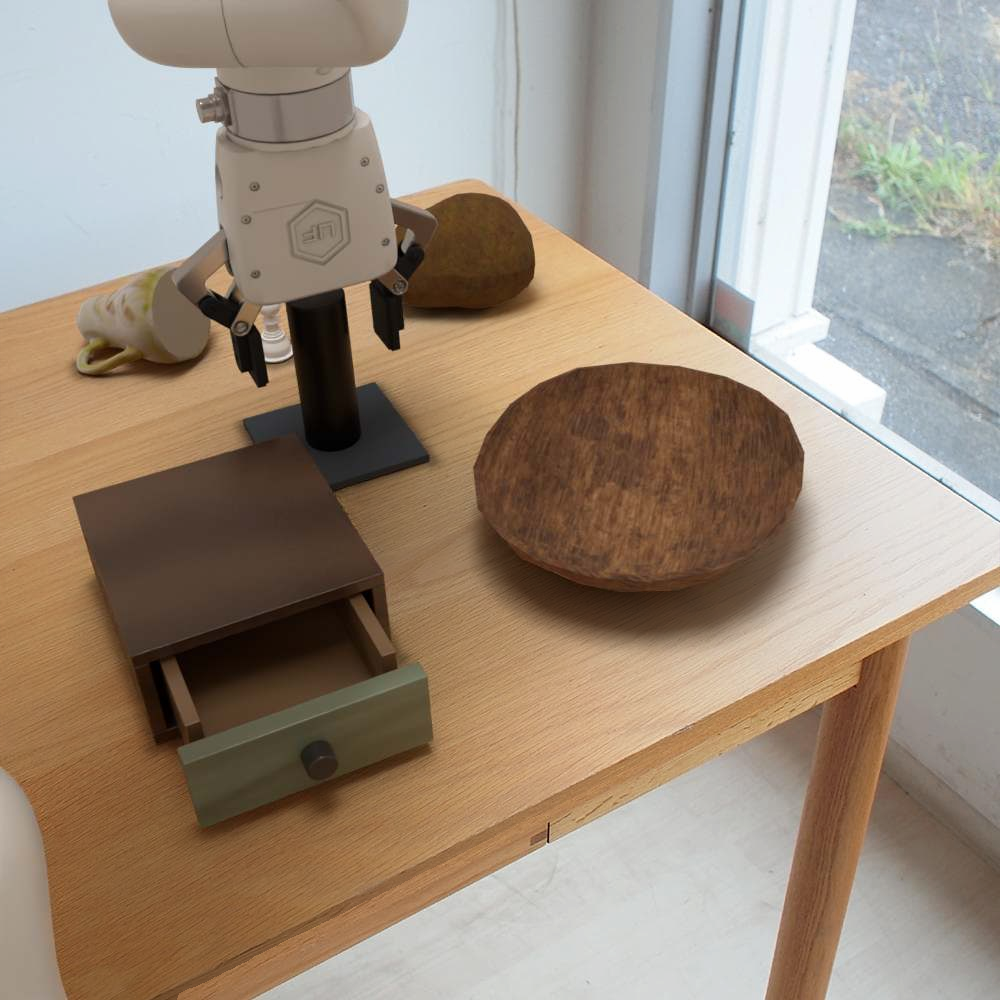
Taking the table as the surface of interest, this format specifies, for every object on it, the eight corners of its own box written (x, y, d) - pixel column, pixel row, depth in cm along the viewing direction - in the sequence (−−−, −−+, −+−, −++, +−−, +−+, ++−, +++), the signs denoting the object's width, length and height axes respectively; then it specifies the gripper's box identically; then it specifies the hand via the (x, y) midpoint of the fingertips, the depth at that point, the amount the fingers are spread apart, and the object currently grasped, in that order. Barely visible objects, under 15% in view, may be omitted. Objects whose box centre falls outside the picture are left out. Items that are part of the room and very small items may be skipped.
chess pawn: (250, 360, 99) (240, 302, 96) (267, 341, 102) (257, 284, 98) (284, 366, 99) (275, 308, 96) (300, 346, 101) (292, 289, 98)
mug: (104, 320, 105) (146, 218, 100) (197, 394, 104) (244, 295, 99) (39, 345, 99) (81, 238, 94) (137, 424, 98) (185, 320, 93)
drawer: (443, 756, 68) (437, 691, 65) (207, 847, 64) (190, 782, 61) (343, 585, 78) (334, 522, 75) (136, 654, 74) (117, 590, 71)
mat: (288, 504, 86) (287, 497, 85) (243, 425, 93) (242, 418, 92) (430, 461, 89) (429, 453, 89) (375, 388, 96) (375, 381, 96)
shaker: (316, 458, 89) (295, 315, 82) (298, 429, 91) (276, 288, 84) (369, 442, 90) (353, 300, 83) (349, 414, 92) (332, 274, 86)
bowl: (427, 605, 78) (421, 540, 75) (539, 402, 94) (538, 341, 91) (761, 676, 72) (770, 609, 69) (819, 447, 89) (828, 385, 85)
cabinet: (394, 660, 74) (384, 572, 70) (156, 745, 70) (130, 657, 66) (308, 515, 85) (295, 431, 81) (97, 581, 80) (71, 496, 76)
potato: (395, 271, 110) (386, 172, 104) (538, 271, 109) (537, 172, 103) (382, 323, 103) (371, 221, 98) (534, 324, 102) (532, 221, 97)
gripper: (155, 157, 70) (210, 424, 81) (453, 94, 76) (467, 352, 87) (123, 109, 76) (178, 365, 86) (403, 54, 81) (422, 301, 92)
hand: (323, 358), depth 87 cm, fingers open, 8 cm apart
